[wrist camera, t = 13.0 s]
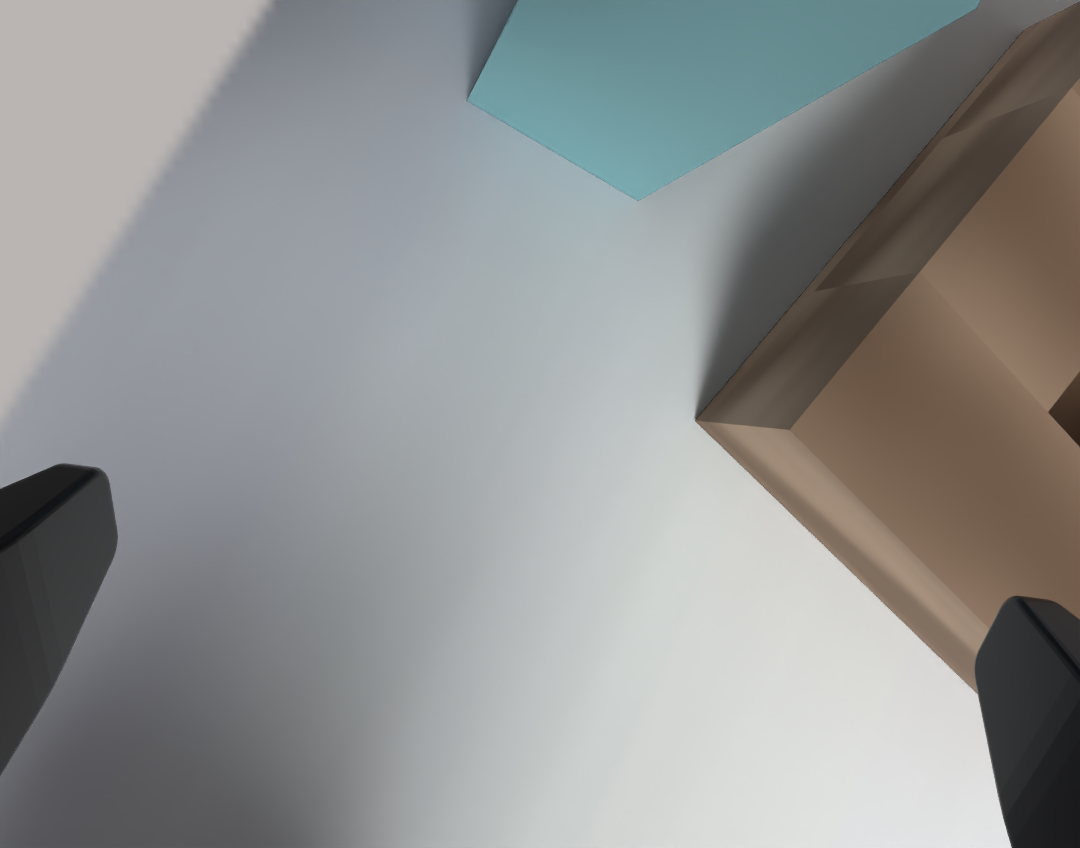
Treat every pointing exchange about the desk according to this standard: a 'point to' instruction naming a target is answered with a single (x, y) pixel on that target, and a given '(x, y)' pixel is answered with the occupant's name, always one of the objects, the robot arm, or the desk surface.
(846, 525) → the brown flat block
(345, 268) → the desk surface
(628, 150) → the plug
